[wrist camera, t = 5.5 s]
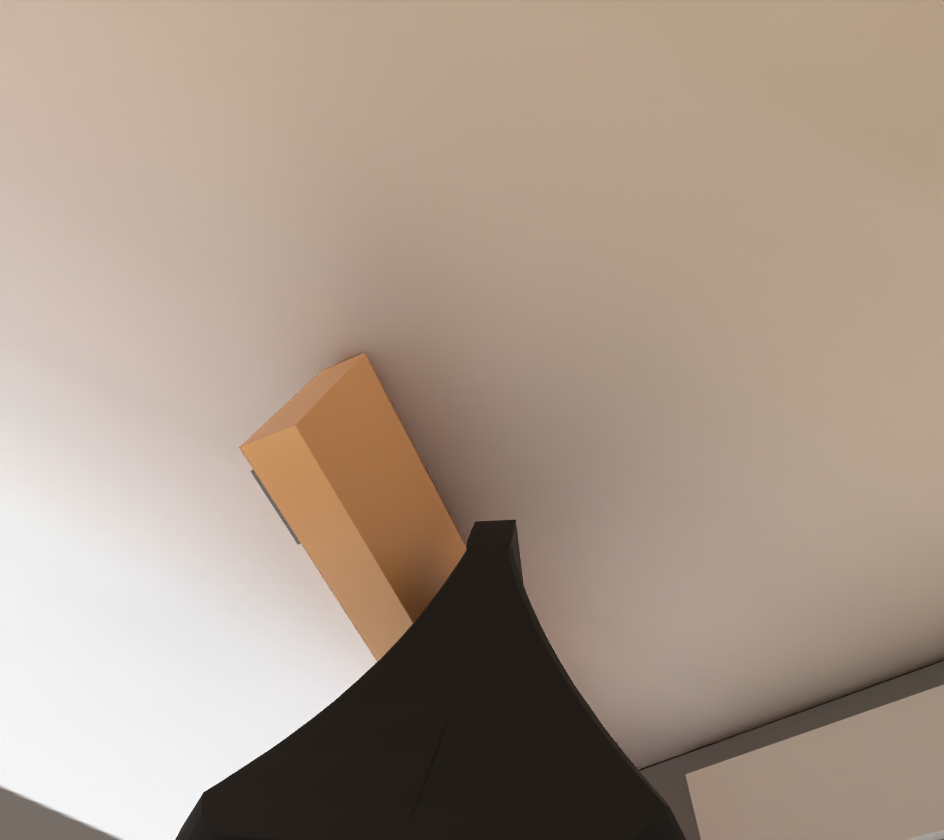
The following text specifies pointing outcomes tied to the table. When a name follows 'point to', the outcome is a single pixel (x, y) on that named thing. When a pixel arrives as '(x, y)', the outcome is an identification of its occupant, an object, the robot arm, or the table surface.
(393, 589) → the orange piece
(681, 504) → the table surface
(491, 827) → the robot arm
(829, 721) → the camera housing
